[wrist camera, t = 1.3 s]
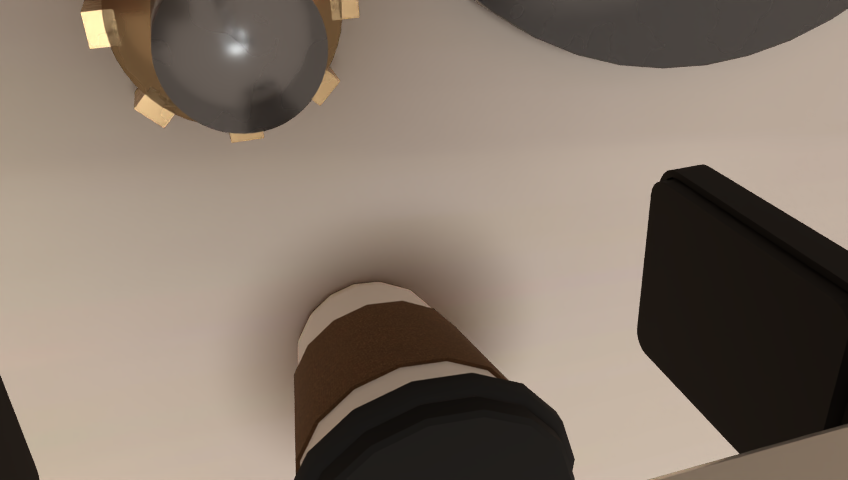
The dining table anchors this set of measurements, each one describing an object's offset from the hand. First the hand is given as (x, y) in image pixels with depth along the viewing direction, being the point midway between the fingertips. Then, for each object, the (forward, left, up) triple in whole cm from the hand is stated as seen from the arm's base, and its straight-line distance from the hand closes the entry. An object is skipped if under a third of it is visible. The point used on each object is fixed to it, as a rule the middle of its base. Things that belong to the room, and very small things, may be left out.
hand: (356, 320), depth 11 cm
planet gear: (0, 0, -21) cm, 21 cm away
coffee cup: (+16, +4, -21) cm, 27 cm away
